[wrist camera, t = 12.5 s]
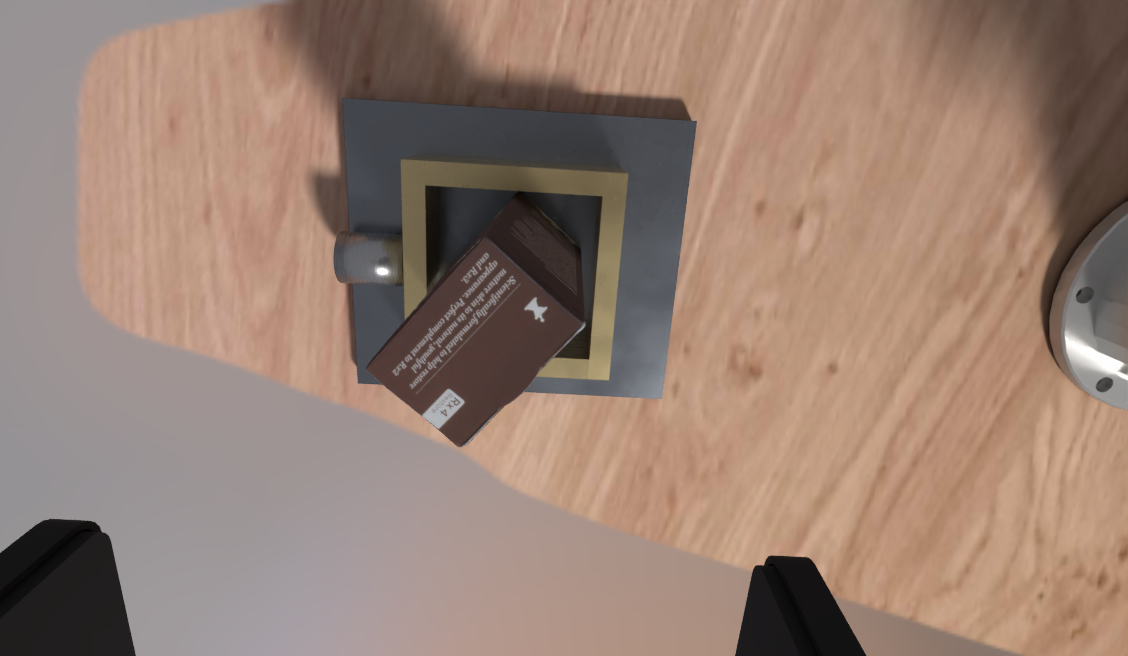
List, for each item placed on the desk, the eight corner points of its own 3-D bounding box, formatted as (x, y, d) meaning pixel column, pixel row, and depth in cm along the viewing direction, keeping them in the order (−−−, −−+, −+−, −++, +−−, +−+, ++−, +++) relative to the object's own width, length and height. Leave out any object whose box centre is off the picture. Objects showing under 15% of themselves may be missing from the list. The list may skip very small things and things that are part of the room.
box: (514, 183, 29) (486, 230, 17) (583, 248, 30) (599, 332, 18) (432, 275, 30) (357, 373, 19) (501, 333, 31) (469, 460, 20)
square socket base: (692, 121, 29) (712, 122, 25) (658, 390, 33) (671, 426, 30) (349, 98, 28) (317, 96, 24) (363, 375, 33) (338, 409, 29)
